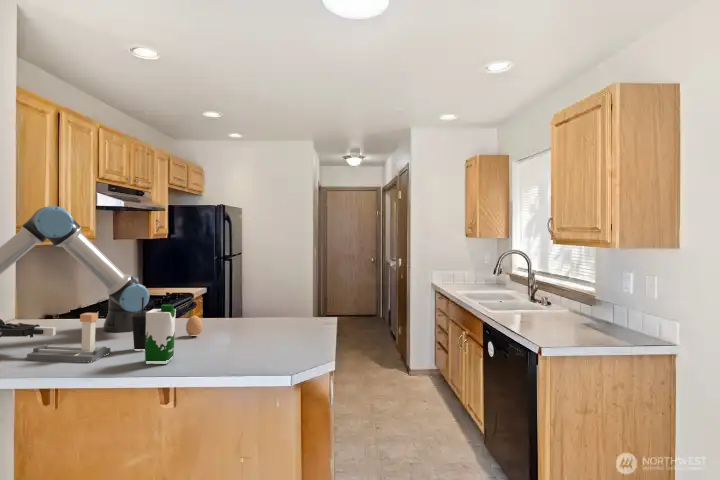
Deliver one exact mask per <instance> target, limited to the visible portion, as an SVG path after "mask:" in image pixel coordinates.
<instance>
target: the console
mask: <svg viewBox="0 0 720 480" xmlns="http://www.w3.org/2000/svg"><path fill="white" fill-rule="evenodd" d="M81 348H82V346H72V345H71V346H70V345H65V346H64V345H49V344H48V343H45V344H42V345H39V346H36V347H33V349H32V352H29V353H27V354H26V361H40V362H41V361H43V362H44V361H45V362H64V361H89V362H91V361H94V360H96V359H98V358H100V357H102V356H104V355H106V354H108V353H110V354H111V348H110V347H107V346H101V347H96V346H95V350H94V351H81ZM108 355H109V354H108ZM106 356H107V355H106ZM104 357H105V356H104ZM102 358H103V357H102ZM100 359H101V358H100ZM98 360H99V359H98ZM96 361H97V360H96ZM89 362H88V363H89ZM94 362H95V361H94Z"/></svg>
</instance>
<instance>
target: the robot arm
mask: <svg viewBox="0 0 720 480" xmlns="http://www.w3.org/2000/svg"><path fill="white" fill-rule="evenodd" d="M47 240H48V241H49V243H51V244H53V246H54V247H60V248H63V249H64V250H65V251H66V252H68V254H69V255H70V256H71V257H73V258H74V259H75V260H76V261H77V262H78V263H79V264H80V265H81V266H82V267H83V268H85V269H86V270H87V271H88V272H89V273H90V274H91V275H92V276H93V277H94V278H96V280H97V281H99V282H100V284H102V285H103V286H104V287H105V288H106V290H107V292H106V293H107V295H108V309H107V310H108V313H107V316H106V318H105V319H104V323H103V331H104V332H110V333H122V332H123V333H125V332H133V324H132V316H131V314H133V313H135V312H138V311H142V297H144V308H146V306H147V305H148V303H149V300H150V292H149V290H148V289H147V288H146V286H145V285H143V284H142V283H141V284H140V282H139V278H138V277H134V276H132V275H131V274H129V273H128V274H127V273H126V274H125V273H124V272H123V271H122V270H121V269H119V267H118V266H116V265H115V264H114V262H113V261H111V260H110V259H109V258H108V257H107V256H106V255H105V254H104V253H103V252H102V251H101V250H100V249H99V248H98V247H97V246H96V245H95V244H93V242H92V241H91V240H90V239H89V238H87V236H86V235H85V234H83V233H82V226H81V225H80V224H79V223H78V222H77V221H76V220H75V219H74V218H73V216H72V215H71V213H70V212H69V211H68V210H66V209H65V208H63V207H60V206H58V205H57V206H56V205H50V206H49V205H48V206H45V207H42V208H38V210H36V211H35V212H34V214H32V216H31V217H30V218H28V219H27V221H25V222H24V223H23V224H22V225H21V226H20V231H18V232H17V233H16V234H14V235H13V236H12V237H11V238H10V239H8V240H7V241H6V242H5V243H3V245H0V276H1V275H2V274H3V273H4V272H6V271H7V270H8V269H9V268H10V267H12V266H13V265H14V264H15V263H16V262H17V261H19V259H21V258H22V257H23V256H24V255H26V254H27V253H28V252H29V251H31V249H33V248H34V247H36V246H37V245H38V244H43V243H44V242H46V241H47ZM56 328H57V327H54V326H52V327H51V326H41V325H39V324H32V323H31V324H29V323H23V322H18V323H12V322H8V323H7V322H6V323H5V322H4V320H2V318H0V338H3V337H5V338H6V337H7V338H9V337H11V338H12V337H15V338H16V337H17V338H19V337H22V338H23V337H24V338H26V337H29V338H34V336H46V337H47V336H48V337H50V336H51V337H54V336H56V330H57V329H56Z"/></svg>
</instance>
